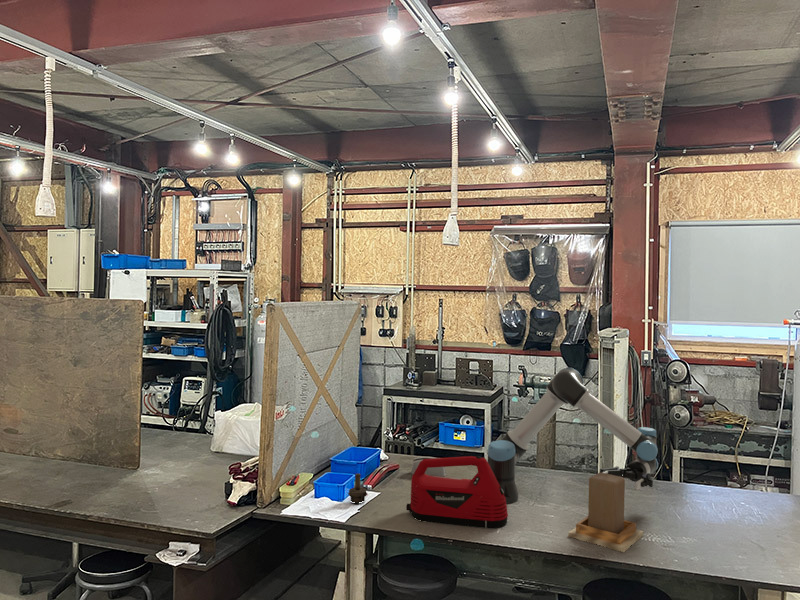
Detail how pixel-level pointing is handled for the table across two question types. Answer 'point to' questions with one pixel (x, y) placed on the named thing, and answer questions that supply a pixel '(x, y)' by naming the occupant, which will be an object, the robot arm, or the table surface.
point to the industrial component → (357, 491)
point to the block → (606, 502)
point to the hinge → (430, 471)
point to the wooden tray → (607, 535)
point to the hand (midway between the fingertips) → (618, 482)
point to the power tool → (458, 495)
